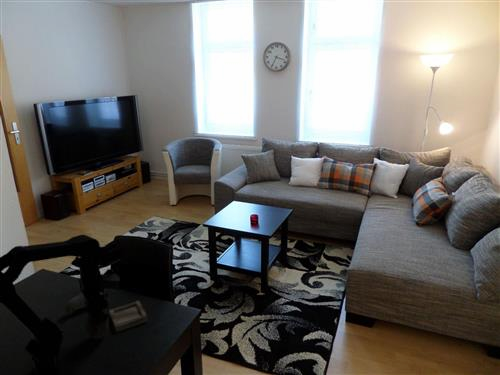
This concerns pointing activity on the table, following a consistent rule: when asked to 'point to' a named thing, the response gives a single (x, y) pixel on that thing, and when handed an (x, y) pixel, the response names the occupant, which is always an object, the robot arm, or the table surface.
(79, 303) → the decorative bird
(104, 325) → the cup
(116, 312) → the birch stand
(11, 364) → the table surface
